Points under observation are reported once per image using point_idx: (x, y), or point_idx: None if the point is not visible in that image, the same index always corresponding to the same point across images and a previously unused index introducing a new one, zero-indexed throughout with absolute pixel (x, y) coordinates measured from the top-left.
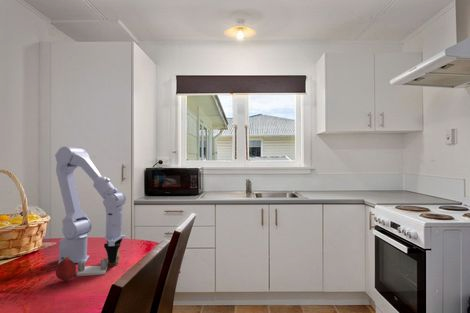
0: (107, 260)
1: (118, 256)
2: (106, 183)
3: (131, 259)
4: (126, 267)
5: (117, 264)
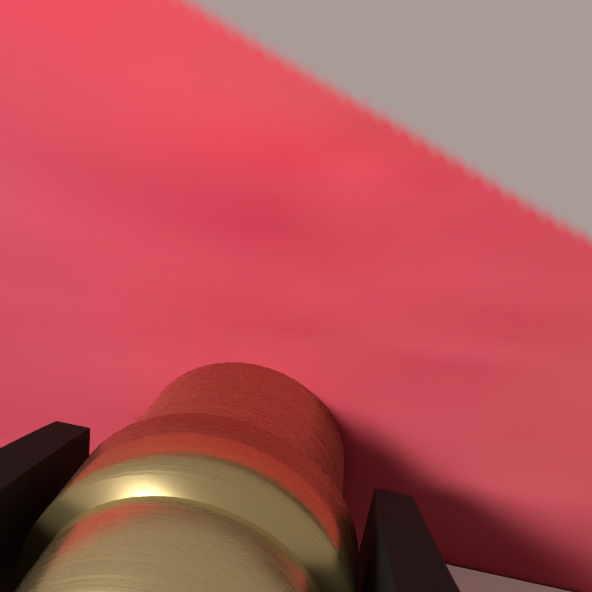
0: None
1: (293, 486)
2: None
3: (30, 67)
4: (579, 244)
5: (307, 390)
